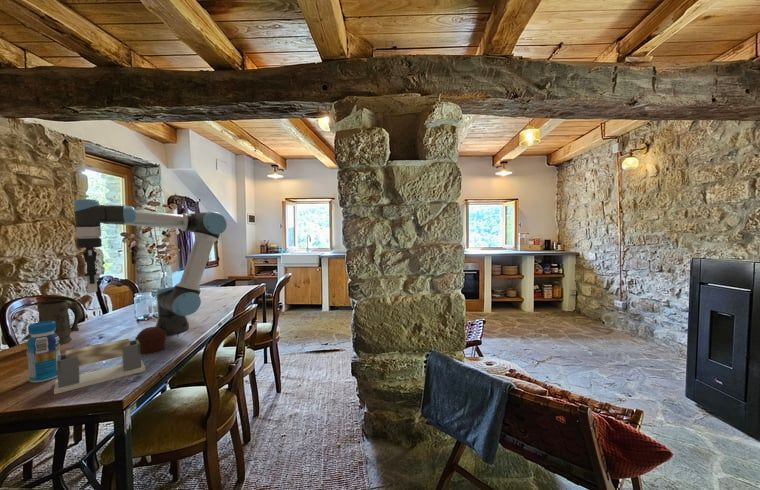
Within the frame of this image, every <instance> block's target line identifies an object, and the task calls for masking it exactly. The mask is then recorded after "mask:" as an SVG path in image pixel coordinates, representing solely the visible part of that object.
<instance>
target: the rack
mask: <svg viewBox="0 0 760 490" xmlns="http://www.w3.org/2000/svg"><path fill="white" fill-rule="evenodd" d="M129 341H130V346H126V347H123V356H121V357H122V364H118V365H115V366H110V367H106V368H102V369H97V370H94V371H89V372H85V373H81V374H80V366H78V357H73V358H68V359H66V353H63V354H60V355H58V358H57V373H58V377H57V379H56V380H55V383H54V389H53V394H54V395H57V394H60V393H64V392H69V391H72V390H76V389H80V388H84V387H89V386H92V385H95V384H100V383H103V382H108V381H111V380H115V379H119V378H123V377H127V376H131V375H134V374H138V373H142V372H146V366H145V364H144V362H143V360H142V356H141V355H142V354H141V351H140V343H139V341H138V340H135V339H133V340H129Z"/></svg>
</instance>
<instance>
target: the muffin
mask: <svg viewBox="0 0 760 490" xmlns="http://www.w3.org/2000/svg"><path fill="white" fill-rule="evenodd" d="M166 334H167V333H166V332H165V331H164V330H163V329H161V328H159V327H155V326H149V327H146V328H143V329H142V330H140V331H139V332H138V334H137V335H136V337H135V339H134V340H138V341H139V343H140V351H141V355H144V354H145V355H152V354H156V353H159V352H161V351H163V350H165V345H166V344H165V343H166V337H167V335H166Z"/></svg>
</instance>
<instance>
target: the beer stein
mask: <svg viewBox="0 0 760 490" xmlns="http://www.w3.org/2000/svg"><path fill="white" fill-rule="evenodd" d="M36 309H37V311H38V322H44V321H55V323H56V329H55V331H53V332H54V333H56V334H57V335H58V337H59V339H60V340H59V344H60V346H61V345H64V344H67V343H70V342H71V341H72V338H71V333H73V332H79V330H80V328H79V327H78V324H79V321H80V320H81V314H82V313H81V310H80V307H79V304H78V301H73V302H71V303H69V304H68V301H67V300H51V301H45V302H40V303H38V304H37V308H36ZM69 309H73V310H74V311H73V312H74V319H73V323H72V326H71V325H70V324H71V323H70V314H69Z"/></svg>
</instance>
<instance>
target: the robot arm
mask: <svg viewBox="0 0 760 490" xmlns="http://www.w3.org/2000/svg"><path fill="white" fill-rule="evenodd" d="M73 203H74V204H73V205H74V206H73V212H74V223H75V224H74V225H75V226H74V227H75V229H73V232H74V233H75V236H76V237H77V238H76V240H75V241H76V248H77V249H85V250H84V251H83V252H82V253H83V257H84V262H85V263H86V273H84V277H86V279H87V280H86V282H87V292H88V293H95V292H96V293H97V292H98V281H97V272H98V269H97V268H96V262H97V255H98V254H97V253H98V252H97V251H95V249H94V248H102V246H103V245H102V244H103V243H102V238H101V237H102V228H101V224H104V225H119V226H120V225H123V226H125V225H126V226H135V227H148V228H149V227H150V228H151V227H152V228H165V229H177V230H180V231H182V232H191V233H193V234H194V236H195V240H194V242H193V244H192V248H191V249H190V250H191V251H190V253H189V255H188V259H187V260H186V264H185V267H184V270H183V272H182V276H181V279H180V280H179V282H178V283H176V284H175V285H174V286H168V287H163V288H158V289H157V290H156V305H157V321H156V324H155V326H154V327H159V328H161V329H163V330H164V331H165V332H166V333H167V334H166V336H169V335H175V334H179V333H183V332H185V331H187V330H189V329H190V323H189V320H188V318H187V317H188V316H190V315H193V314H194V313H196V312H197V311H198V310H199V308H200V307H201V303H202V300H201V297H200V294H201V291H202V290H201V288H200V283H201V282H202V278H203V275H204V273H205V270H206V266H207V263H208V261H209V257H210V255H211V252H212V248H213V246H214V243H215V242H218V240H219V238H220V235H221V234H223V233H224V232H225V231H226V230H227V226H228V222H227V219H226V217H225V216H224V215H223V214H222V213H220V212H217V211H207V212H196V213H194V212H193V213H186V212H183V213H181V214H177V213H169V212H168V213H167V212H157V211H150V210H149V211H148V210H140V209H138V210H137V209H135V207H133V206H131V205H111V204H110V205H107V204H106V205H105V204H101V203H100V201H99V200H97V199H90V198H89V199H88V198H87V199H86V198H80V199H76V200H74V202H73ZM88 293H87V294H88Z"/></svg>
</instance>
